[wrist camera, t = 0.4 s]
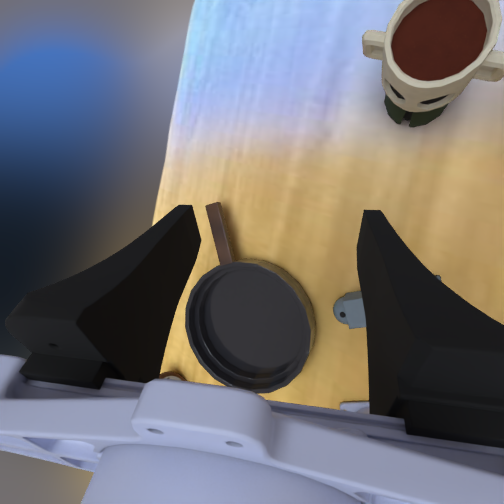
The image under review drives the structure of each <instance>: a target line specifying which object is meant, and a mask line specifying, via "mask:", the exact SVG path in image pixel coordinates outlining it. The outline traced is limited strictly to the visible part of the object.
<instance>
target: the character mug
mask: <svg viewBox="0 0 504 504" xmlns="http://www.w3.org/2000/svg"><path fill="white" fill-rule="evenodd" d="M501 22H502V15H501V10H500V5H499V0H404V1H403V2H402V3H401V4H400V5H399V6H398V8H397V10H396V11H395V13H394V15H393V16H392V18H391V20H390V22H389V23H388V26H387V30H386V32H382V31H376V30H367V31H366V32H365V33H364V35H363V36H362V45H363V54H364V55H365V56H366V57H369V58H372V59H378V60H383V61H382V86H383V88H384V90H385V92H386V96H385V106H386V109H387V112H388V115H389V116H390V117H391V118H392V119H393V120H394V121H395V122H396V123H398V124H401V122H402V119H403V118H404V119H405V120H410V124H409V126H410V127H415V126H420V125H425V124H427V123H429V122H431V121H432V120H434V119H435V118H437V117H438V116H440V115H441V113H442V112H443V111H444V109H445V108H446V106H447V105H448V104H449V102H451V101H453V100H454V99H455V98H457V97H458V96H459V95H460V94H461V93H462V91H463V90H464V89H465V87H466V86H467V85H468V84H469V82H470V81H471V79H472V78H475V79H480V80H485V81H499V80H501V79H502V78H503V77H504V52H501V51H495V50H492V49H493V48H494V46H495V44H496V42H497V38H498V34H499V30H500V26H501Z"/></svg>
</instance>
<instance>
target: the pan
mask: <svg viewBox="0 0 504 504" xmlns="http://www.w3.org/2000/svg"><path fill="white" fill-rule="evenodd" d="M315 324H316V323H315V318H314V314H313V310H312V306H311V302H310V300H309V299H308V297H307V296H306V294H305V292H304V291H303V289H302V287H301V286H300V284H299V283H298V282H297V281H296V280H295V279H294V278H293V277H291V276H290V275H289V274H288V273H287V272H286V271H285V270H284V269H282V268H280V267H278V266H276V265H273V264H271V263H269V262H267V261H264V260H256V259H247V258H244V259H240V260H236V261H235V262H232V263H230V264H225V265H218V266H216V267H215V268H213V269H212V270H210V271H209V272H207V273H206V274H204V275H203V276H202V277H201V278H200V279H199V281H198V282H197V284H196V285H195V286H194V288H193V289H192V290H191V293H190V296H189V299H188V302H187V305H186V314H185V328H186V332H187V336H188V340H189V344H190V347H191V349H192V350H193V352H194V354H195V356H196V358H197V359H198V361H199V363H200V364H201V365H202V366H203V367H204V369H205V370H206V371H207V372H208V373H209V374H210V375H211V376H212V377H213V378H214V379H216V380H217V381H219V382H221V383H222V384H224V385H225V386H227V387H234V388H239V389H243V390H247V391H252V392H254V393H256V394H259V393H270V392H273V391H275V390H277V389H280V388H282V387H284V386H287V385H288V384H289V383H290V382H291V381H292V380H293V379H294V378H295V377H296V376H297V375H298V374H299V373H300V372H301V371H302V369H303V366H304V364H305V362H306V360H307V358H308V356H309V353H310V351H311V349H312V347H313V344H314V337H315Z"/></svg>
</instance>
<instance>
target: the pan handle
mask: <svg viewBox="0 0 504 504" xmlns="http://www.w3.org/2000/svg"><path fill="white" fill-rule="evenodd" d="M205 207H206V211H207V215H208V219H209V222H210V226H211V230H212V234H213V238H214V242H215V246H216V250H217V254H218V258H219V261H220V265H225V264H230V263H232V262H235V257H234V253H233V249H232V246H231V242H230V238H229V234H228V230H227V226H226V222H225V218H224V214H223V210H222V206H221V203H220V202H216V203H212V204H209V205H206V206H205Z"/></svg>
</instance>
